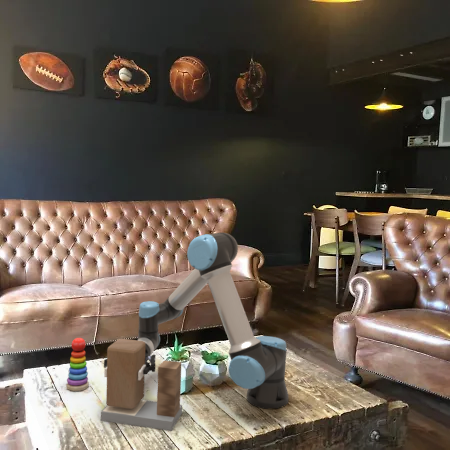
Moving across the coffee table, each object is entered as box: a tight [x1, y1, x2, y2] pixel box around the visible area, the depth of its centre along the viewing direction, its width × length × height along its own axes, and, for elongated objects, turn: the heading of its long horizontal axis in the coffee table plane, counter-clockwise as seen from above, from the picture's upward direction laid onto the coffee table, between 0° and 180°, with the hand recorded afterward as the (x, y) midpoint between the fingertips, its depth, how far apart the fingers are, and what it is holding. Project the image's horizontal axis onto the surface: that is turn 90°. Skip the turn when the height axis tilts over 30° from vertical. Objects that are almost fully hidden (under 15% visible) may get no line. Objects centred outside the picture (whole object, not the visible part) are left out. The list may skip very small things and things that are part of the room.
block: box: [105, 338, 145, 409], centre depth 166 cm, size 10×10×20 cm
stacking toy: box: [66, 337, 90, 392], centre depth 186 cm, size 8×8×19 cm
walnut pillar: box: [156, 360, 182, 417], centre depth 164 cm, size 6×6×16 cm
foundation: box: [100, 399, 183, 432], centre depth 166 cm, size 24×12×3 cm, turn 79°
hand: (122, 374), depth 162 cm, fingers closed on block, 10 cm apart
